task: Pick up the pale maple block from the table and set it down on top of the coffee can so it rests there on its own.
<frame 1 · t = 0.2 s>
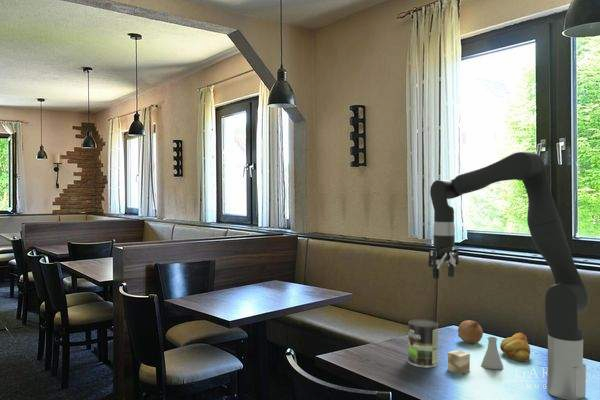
hand: (443, 277, 181), 28 cm above the table, fingers open, 8 cm apart
flask: (492, 367, 169), on the table
maple block: (458, 370, 164), on the table
bread roll: (515, 357, 179), on the table
onion: (470, 343, 196), on the table
coffee can: (422, 363, 172), on the table
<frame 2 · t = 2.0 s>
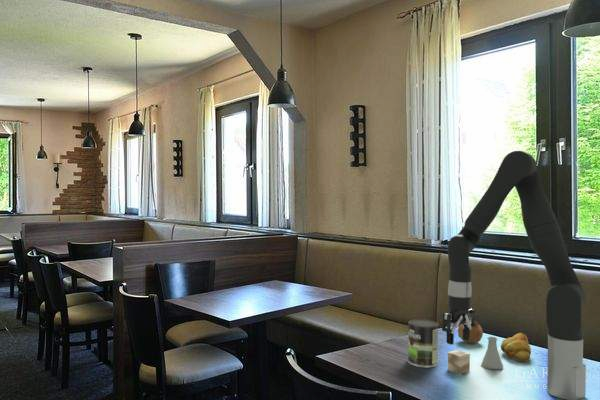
hand: (458, 341, 165), 10 cm above the table, fingers open, 8 cm apart
nothing on the table moved.
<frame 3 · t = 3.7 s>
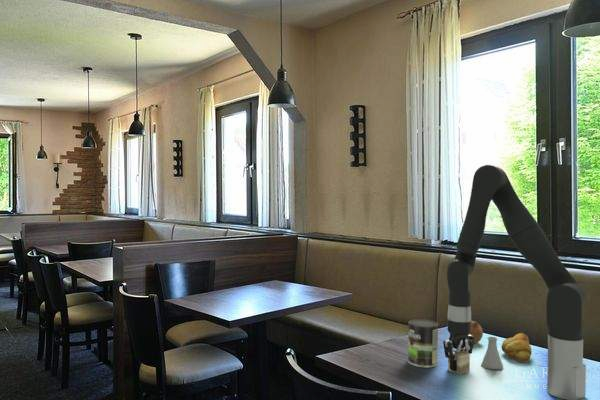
hand: (458, 368, 164), 1 cm above the table, fingers closed on maple block, 5 cm apart
maple block: (458, 370, 164), on the table, touching gripper
everything else where it was.
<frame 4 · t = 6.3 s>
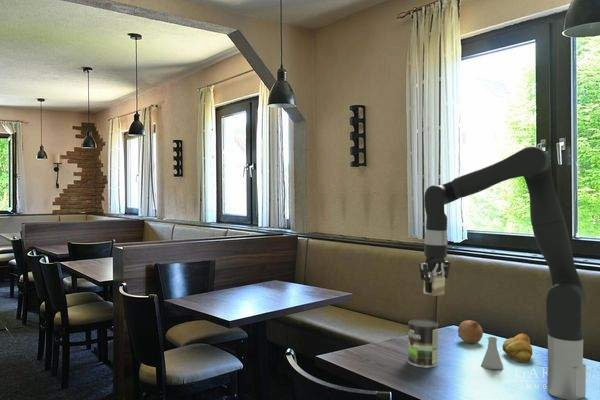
hand: (434, 291, 169), 25 cm above the table, fingers closed on maple block, 5 cm apart
maple block: (433, 293, 169), point 25 cm above the table, touching gripper
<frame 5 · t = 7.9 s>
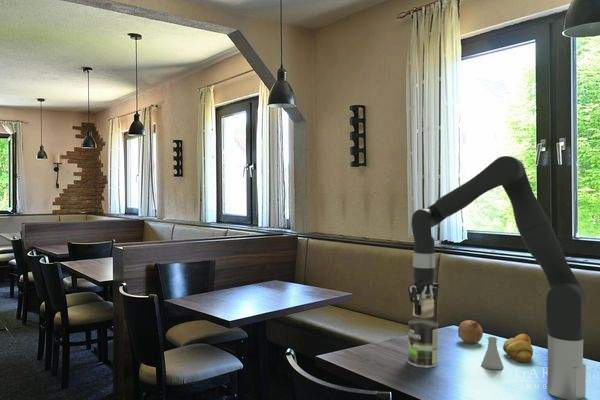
hand: (423, 313, 172), 17 cm above the table, fingers closed on maple block, 5 cm apart
maple block: (423, 315, 172), point 16 cm above the table, touching gripper
when the fingers open (16 cm above the table, at t = 9.1 s): maple block stays where it is, resting on coffee can.
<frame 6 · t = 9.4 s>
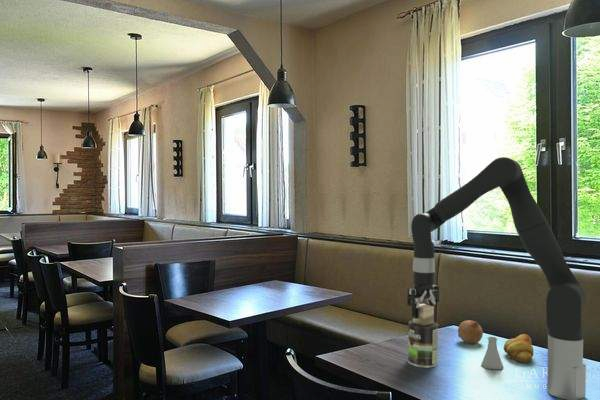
hand: (423, 316, 172), 16 cm above the table, fingers open, 7 cm apart
maple block: (423, 322, 172), point 14 cm above the table, touching coffee can
coffee can: (422, 363, 172), on the table, touching maple block
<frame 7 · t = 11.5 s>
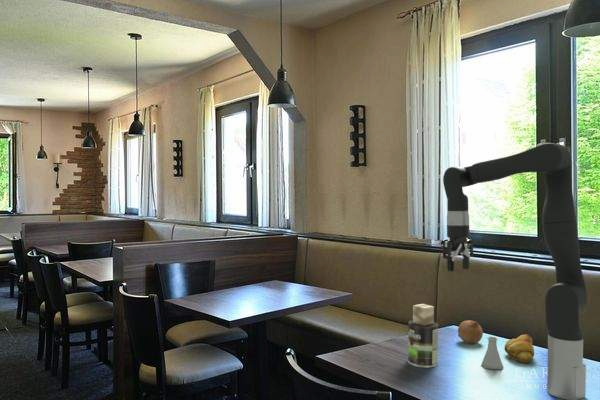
hand: (458, 270, 171), 33 cm above the table, fingers open, 8 cm apart
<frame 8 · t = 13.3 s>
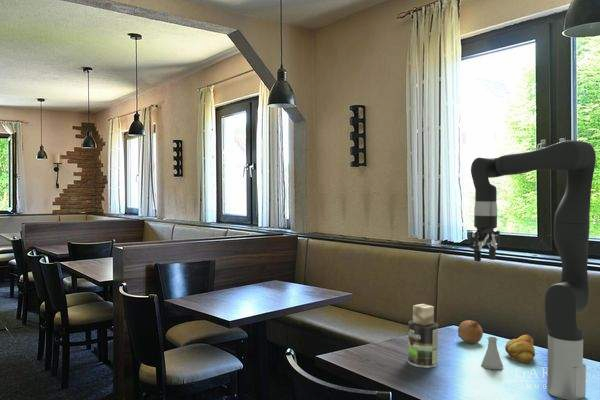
hand: (484, 260, 172), 36 cm above the table, fingers open, 8 cm apart
at the end: maple block inside the target area on the coffee can (0.0 cm from its centre), point 14.3 cm above the coffee can's base; the gripper is holding nothing; maple block touching coffee can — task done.
